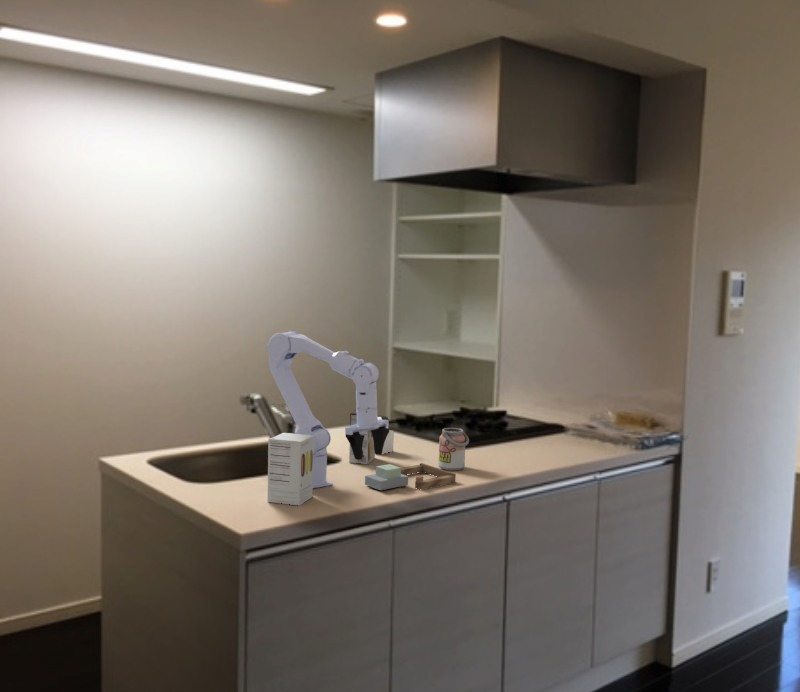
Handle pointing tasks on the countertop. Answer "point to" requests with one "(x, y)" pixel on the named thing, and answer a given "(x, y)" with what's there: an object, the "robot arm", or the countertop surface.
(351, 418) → the coffee box
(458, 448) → the soda can pail
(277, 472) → the supplement box
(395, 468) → the stacked grey base
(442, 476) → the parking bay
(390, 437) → the medicine bottle
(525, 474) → the countertop surface
